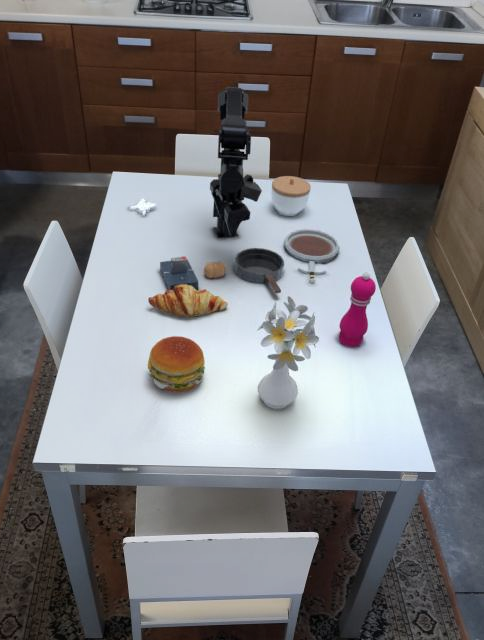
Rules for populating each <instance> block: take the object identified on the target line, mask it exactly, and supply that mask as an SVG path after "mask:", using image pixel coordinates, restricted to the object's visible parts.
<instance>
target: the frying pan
mask: <svg viewBox="0 0 484 640" xmlns="http://www.w3.org/2000/svg"><path fill="white" fill-rule="evenodd" d="M283 243H284V248H285V249H286V251H287V252H288V254H289V255H290V256H292V257H293V258H295V259H297V260H300V261H303V262H306V263H307V262H308V270H304V269H302V268H300V267H298V268H297V271H298V272H300V273H302V274H305V275H309V277H310V279H309V280H308V282H309V284H311V285H313V284H315V283H316V279H315V276H316V275H317V276H320V275H324V274H327V270H322V271H316V265H315V264H316V263H317V264H319V263H320V264H324V263H328V262H330V261H332V260H333V259H334V258H335V257H336V255H337V254H338V253H339V250H340V245H339V242H338V240H337V239H336V238H335V237H334V236H333V235H331V234H330V233H327V232H325V231H322V230H319V229H318V230H317V229H313V228H302V229H296V230H294V231H291V232H289V234H287V235H286V237H285V239H284V242H283Z"/></svg>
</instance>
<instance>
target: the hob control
mask: <svg viewBox="0 0 484 640" xmlns="http://www.w3.org/2000/svg"><path fill="white" fill-rule="evenodd" d="M159 271H160V274H161V276H162V279H163V281H164V283H165V285H166V288H167V290H173V289H174V287H175V286H177V285H182V284H183V285H184V284H187V285H190V286H193V287H194V288H195V289H196V290H197V291H199V280H198V278H197V276H196V274H195V272H194V268H193V267H192V266H191V263H190V261H189V260H188V259H187V272H182V273H173V274H172V272H171V260H165V261H159Z"/></svg>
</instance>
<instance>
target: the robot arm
mask: <svg viewBox="0 0 484 640" xmlns="http://www.w3.org/2000/svg"><path fill="white" fill-rule="evenodd" d="M217 96H218V97H217V112H219V119H220V121H221V127H219V128H218V144H217V159H220V173H219V174H217V178H216V179H212V180H211V182H210V183H209V190H210V194H211V197H212V199H213V209H212V217H213V218H216V226H214V227H212V230H213V233H214V234H215V236H216V237H217V238H218V239H224V238H225V239H226V238H234V237H239V234H238V230H239V228H240V225H241V223H242V222H245V221H249V220H250V219H251V211H250V209H249V208H248V206H247V205H246V204H245V203H244V202H243V201H245V199H248V200H251V201H253V202H256V203H257V202H258V201H259V198H260V196H261V194H262V192H263V190H262V188H261V187H260V185H259V184H258V183H257V182H256V181H254V178H253V176H252V175H251V174H248V173H247V174H245V176H244V165H243V164H244V161H248V160H249V155H251V149H252V147H251V145H252V134H251V131H250V129H248V127H247V126H248V125H247V121H246V120H245V116H246V114H247V113H248V112H249V111H248V110H249V98H250V97H249V94H248V93H246V92H245V91H244V88H242V87H234V86H227V87H225V89H224V90H222V91H220V92H218V95H217ZM221 149H222V150H221ZM241 150H242V151H241ZM244 150H245V151H244Z"/></svg>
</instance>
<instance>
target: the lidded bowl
mask: <svg viewBox="0 0 484 640" xmlns="http://www.w3.org/2000/svg"><path fill="white" fill-rule="evenodd" d="M311 188H312V186H311V184H310V182H309V181H307V180H306V179H304V178H302V177H298V176H292V175H283V176H279V177H278V176H277V177H276V178H274V179H273V180H272V182H271V202H272V205H273V207H274V208H275V210H277V213H278V214H280V215H282V216H285V217H295V216H297V215H298V214H299V213H300V212H302V211H303V210H304V209H305V207H306V206H307V203H308V201H309V197H310V193H311Z"/></svg>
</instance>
